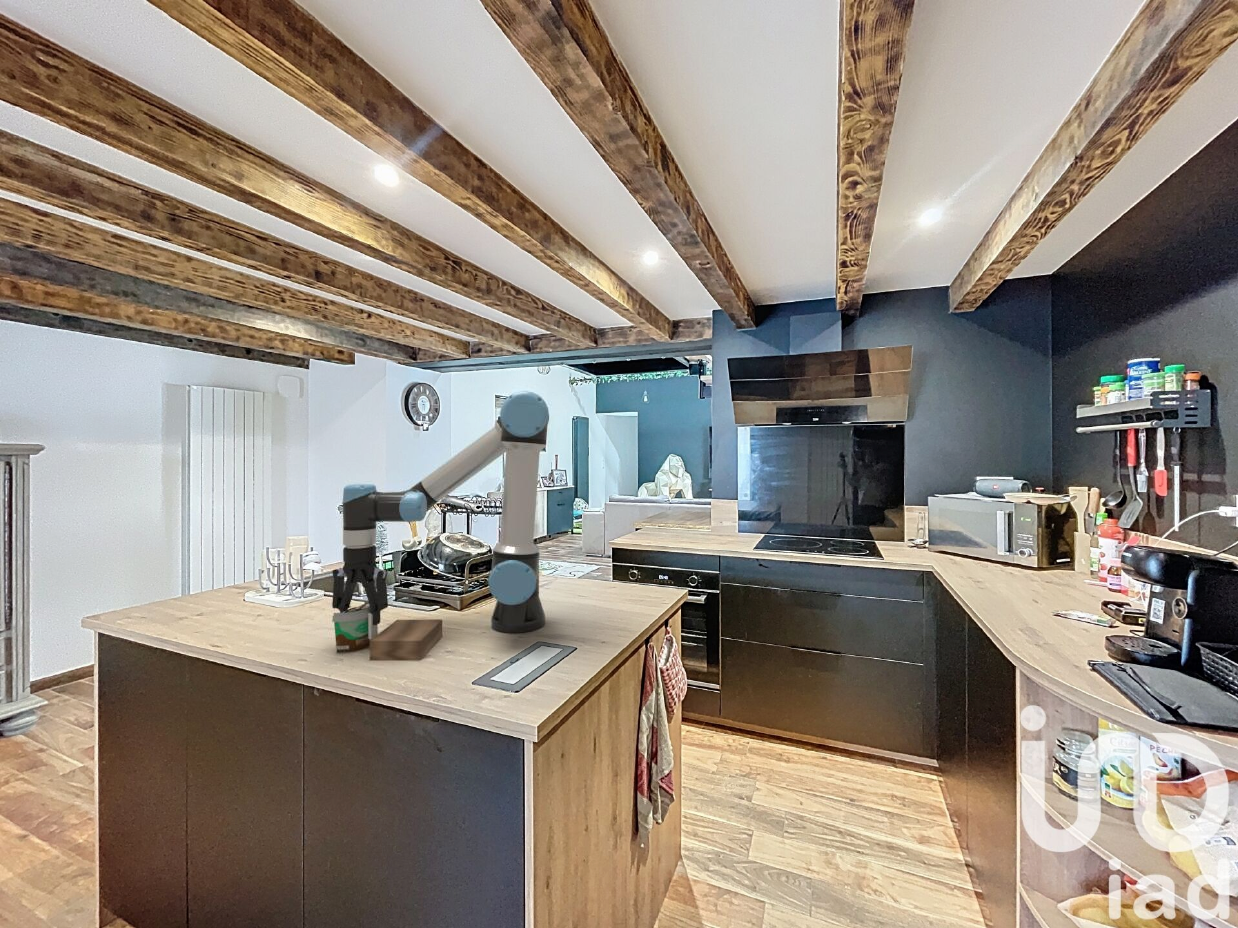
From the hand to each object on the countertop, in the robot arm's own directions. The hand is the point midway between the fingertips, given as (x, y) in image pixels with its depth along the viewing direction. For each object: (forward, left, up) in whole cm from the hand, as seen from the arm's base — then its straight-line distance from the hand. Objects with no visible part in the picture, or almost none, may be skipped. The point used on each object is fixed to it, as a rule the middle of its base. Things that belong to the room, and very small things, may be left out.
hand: (360, 636), depth 133 cm
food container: (0, 0, -3) cm, 3 cm away
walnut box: (-12, -1, -3) cm, 13 cm away
